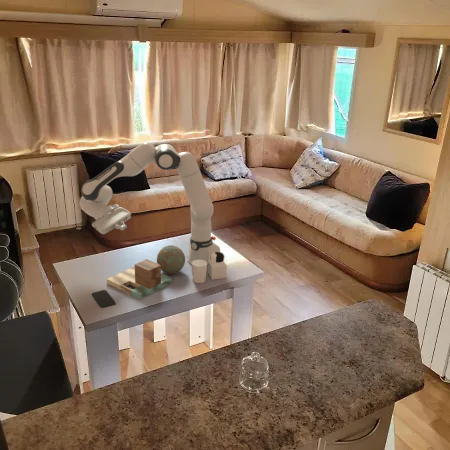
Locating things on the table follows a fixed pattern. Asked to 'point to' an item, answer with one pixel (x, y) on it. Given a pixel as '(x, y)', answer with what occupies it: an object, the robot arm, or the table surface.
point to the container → (217, 266)
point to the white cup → (199, 271)
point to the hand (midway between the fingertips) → (124, 228)
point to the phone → (103, 298)
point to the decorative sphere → (171, 259)
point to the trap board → (128, 285)
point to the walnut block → (147, 273)
